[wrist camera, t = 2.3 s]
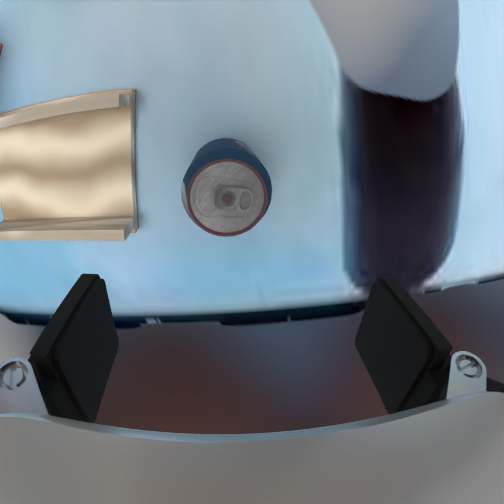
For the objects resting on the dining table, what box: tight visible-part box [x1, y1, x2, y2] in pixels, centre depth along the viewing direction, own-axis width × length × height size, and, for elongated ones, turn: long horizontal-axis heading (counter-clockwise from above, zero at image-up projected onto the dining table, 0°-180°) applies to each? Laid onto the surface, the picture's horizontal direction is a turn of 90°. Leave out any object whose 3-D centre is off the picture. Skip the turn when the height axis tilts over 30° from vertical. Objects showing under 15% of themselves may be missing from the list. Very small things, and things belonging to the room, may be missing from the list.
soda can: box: [181, 138, 272, 236], centre depth 26 cm, size 7×7×12 cm
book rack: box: [0, 89, 138, 241], centre depth 26 cm, size 16×20×6 cm
